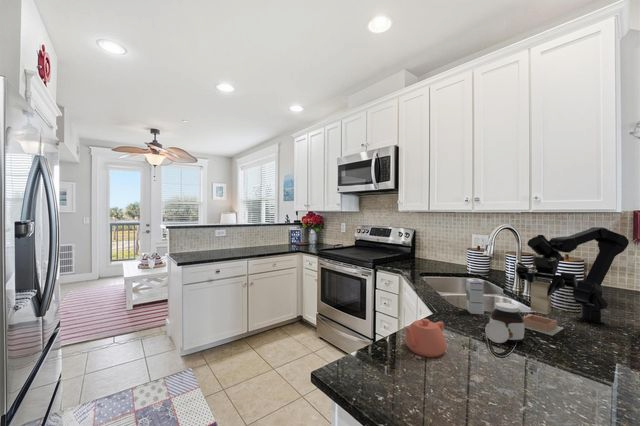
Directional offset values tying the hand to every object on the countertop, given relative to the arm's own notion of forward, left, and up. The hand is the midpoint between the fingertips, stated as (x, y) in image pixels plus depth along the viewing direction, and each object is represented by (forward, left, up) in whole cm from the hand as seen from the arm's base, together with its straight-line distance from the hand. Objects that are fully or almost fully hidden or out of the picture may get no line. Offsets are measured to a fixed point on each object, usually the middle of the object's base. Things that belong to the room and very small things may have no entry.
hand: (539, 293), depth 108 cm
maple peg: (-1, +1, -7) cm, 7 cm away
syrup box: (-15, -18, -14) cm, 27 cm away
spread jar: (+14, -18, -14) cm, 27 cm away
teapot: (+28, -48, -14) cm, 57 cm away
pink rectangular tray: (-2, +1, -13) cm, 14 cm away
